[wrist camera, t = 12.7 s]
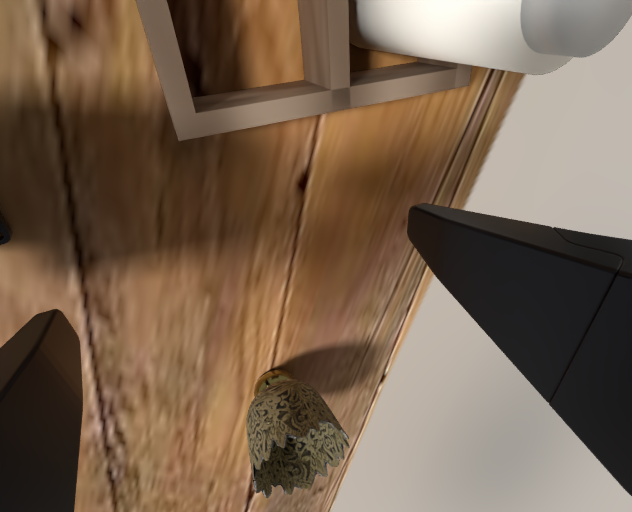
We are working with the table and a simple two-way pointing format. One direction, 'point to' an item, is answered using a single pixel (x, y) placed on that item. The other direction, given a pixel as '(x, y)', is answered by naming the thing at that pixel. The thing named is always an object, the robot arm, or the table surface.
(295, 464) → the cup
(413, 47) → the plug
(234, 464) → the table surface
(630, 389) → the robot arm
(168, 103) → the socket block
